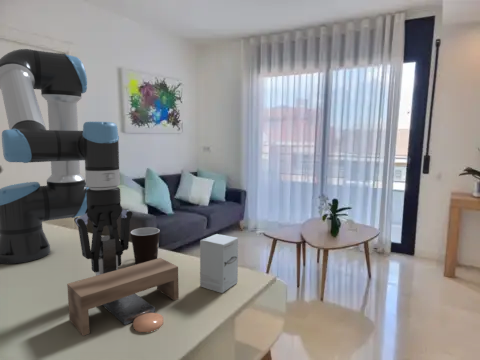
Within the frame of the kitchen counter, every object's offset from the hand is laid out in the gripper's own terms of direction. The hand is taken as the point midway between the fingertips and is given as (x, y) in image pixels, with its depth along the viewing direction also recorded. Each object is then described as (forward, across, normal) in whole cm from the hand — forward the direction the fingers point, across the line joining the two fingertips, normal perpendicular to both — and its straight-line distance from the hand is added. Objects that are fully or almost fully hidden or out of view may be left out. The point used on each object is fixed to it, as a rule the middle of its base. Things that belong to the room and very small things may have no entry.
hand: (107, 281), depth 82 cm
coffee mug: (+3, +18, +12) cm, 22 cm away
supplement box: (+3, +23, -16) cm, 28 cm away
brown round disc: (+3, 0, -20) cm, 20 cm away
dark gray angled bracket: (+3, 0, -7) cm, 8 cm away
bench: (+3, 0, -10) cm, 11 cm away
